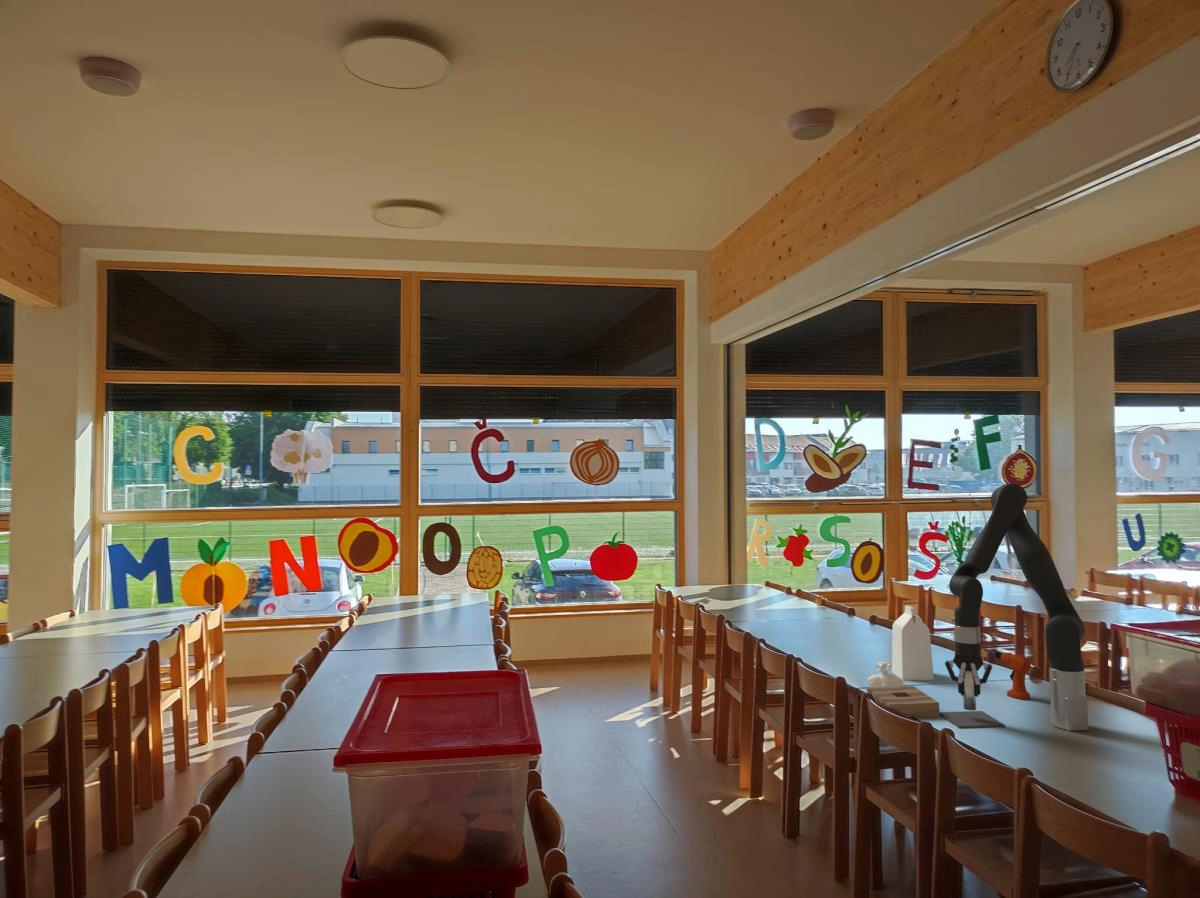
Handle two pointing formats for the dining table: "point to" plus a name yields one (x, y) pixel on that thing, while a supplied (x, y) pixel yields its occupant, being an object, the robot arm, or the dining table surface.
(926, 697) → the block
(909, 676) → the milk
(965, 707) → the silver metal cylinder
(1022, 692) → the toy drill
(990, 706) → the dining table surface
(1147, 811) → the dining table surface
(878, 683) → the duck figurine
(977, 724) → the rubber mat
